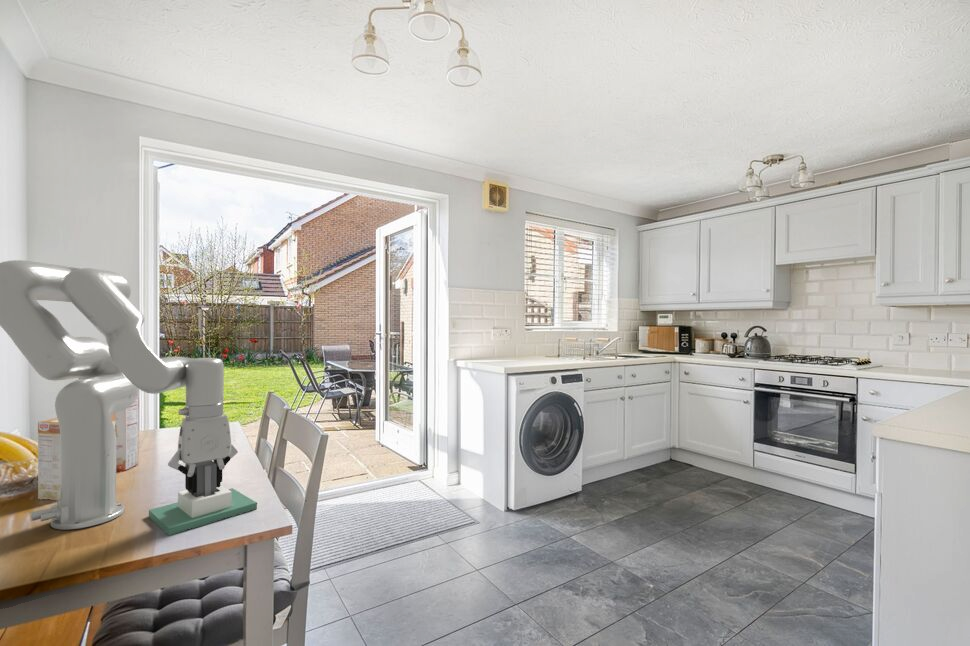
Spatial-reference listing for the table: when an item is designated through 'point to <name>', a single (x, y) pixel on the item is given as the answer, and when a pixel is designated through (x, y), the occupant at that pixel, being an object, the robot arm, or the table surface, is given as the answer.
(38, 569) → the table surface
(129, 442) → the cracker box
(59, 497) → the coffeecake box
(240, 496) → the board
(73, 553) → the table surface
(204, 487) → the plug
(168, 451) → the table surface
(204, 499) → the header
